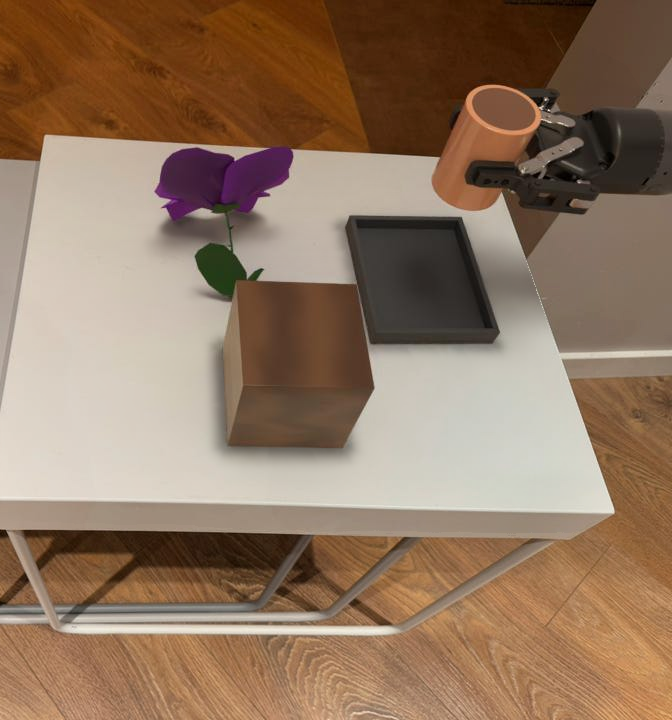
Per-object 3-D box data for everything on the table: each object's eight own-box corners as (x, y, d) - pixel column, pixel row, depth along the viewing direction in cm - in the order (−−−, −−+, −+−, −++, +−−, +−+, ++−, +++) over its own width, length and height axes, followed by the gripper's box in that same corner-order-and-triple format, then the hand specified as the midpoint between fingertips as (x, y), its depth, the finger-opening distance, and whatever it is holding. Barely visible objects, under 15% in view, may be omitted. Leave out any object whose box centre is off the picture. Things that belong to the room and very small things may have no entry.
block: (329, 351, 79) (356, 283, 70) (342, 447, 73) (375, 388, 64) (222, 348, 78) (236, 279, 69) (227, 445, 72) (243, 385, 63)
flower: (286, 299, 89) (266, 185, 89) (332, 272, 74) (308, 136, 75) (161, 316, 86) (143, 198, 87) (183, 292, 71) (160, 150, 72)
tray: (492, 343, 81) (500, 332, 79) (370, 343, 80) (375, 332, 78) (455, 228, 90) (462, 216, 88) (345, 227, 89) (349, 214, 87)
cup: (511, 188, 73) (555, 111, 66) (474, 222, 70) (516, 145, 63) (455, 153, 75) (491, 74, 68) (417, 184, 72) (451, 105, 65)
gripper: (636, 65, 70) (458, 56, 69) (694, 178, 63) (495, 170, 61) (594, 130, 77) (430, 123, 75) (642, 240, 69) (461, 234, 68)
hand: (460, 144), depth 68 cm, fingers closed on cup, 6 cm apart
